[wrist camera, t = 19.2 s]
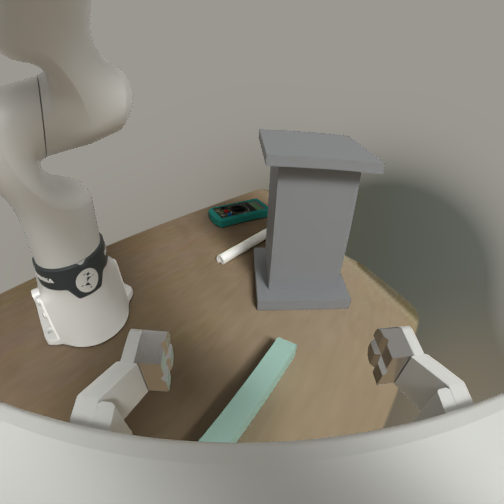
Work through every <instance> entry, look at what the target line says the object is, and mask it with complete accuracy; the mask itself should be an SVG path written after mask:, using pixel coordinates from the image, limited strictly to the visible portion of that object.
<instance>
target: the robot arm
mask: <svg viewBox="0 0 504 504" xmlns="http://www.w3.org/2000/svg"><path fill="white" fill-rule="evenodd" d="M90 8H91V0H0V53H1V54H3V55H4V56H6V57H8V58H10V59H12V60H16V61H21V62H26V63H30V64H34V65H36V66H38V67H40V68H41V69H42V70H44V71H43V72H42V73H41V74H39V75H37V76H35V77H31V78H28V79H24V80H21V81H17V82H14V83H11V84H8V85H4V86H1V87H0V195H1V196H2V197H4V199H5V200H6V201H7V202H8V203H9V204H10V206H11V207H12V209H13V210H14V212H15V213H16V215H17V217H18V219H19V222H20V224H21V226H22V229H23V231H24V234H25V236H26V239H27V241H28V244H29V247H30V249H31V252H32V255H33V258H32V261H33V265H34V270H35V273H36V280H37V284H38V287H37V288H35V289H33V290H32V291H31V293H32V296H33V299H34V301H35V302H36V306H37V310H38V314H39V317H40V321H41V325H42V328H43V332H44V335H45V339H46V341H47V343H48V344H49V345H59V344H67V345H71V346H76V347H88V346H93V345H97V344H100V343H102V342H104V341H106V340H108V339H110V338H111V337H113V336H114V335H115V334H117V333H118V332H119V331H120V330H121V328H122V327H123V326H124V324H125V323H126V321H127V318H128V315H129V301H130V299H131V298H132V296H133V290H132V287H131V286H129V285H127V284H125V283H123V280H122V277H121V274H120V271H119V268H118V265H117V262H116V260H115V259H112V258H111V257H109V256H108V255H107V249H106V245H105V242H104V240H103V237H102V235H101V234H100V233H99V230H98V226H97V221H96V217H95V212H94V207H93V202H92V197H91V194H90V192H89V190H88V188H87V187H86V186H85V185H84V184H83V183H81V182H80V181H78V180H76V179H73V178H70V177H65V176H58V175H53V174H49V173H47V172H45V171H44V170H43V169H42V168H41V166H40V162H41V160H42V159H44V158H46V157H47V156H50V155H53V154H57V153H60V152H63V151H67V150H70V149H74V148H77V147H80V146H84V145H88V144H92V143H94V142H96V141H98V140H100V139H102V138H104V137H107V136H109V135H111V134H113V133H115V132H117V131H119V130H121V129H122V128H123V126H124V125H125V123H126V121H127V119H128V117H129V115H130V112H131V108H132V99H133V97H132V90H131V86H130V83H129V81H128V79H127V77H126V76H125V74H124V73H123V72H122V71H121V70H120V69H119V68H117V67H116V66H114V65H112V64H111V63H109V62H108V61H107V60H106V59H105V58H104V57H103V56H102V55H101V54H100V53H99V51H98V50H97V48H96V46H95V44H94V42H93V39H92V36H91V31H90ZM374 337H375V339H374V340H372V341H371V342H370V344H369V347H368V359H369V362H370V364H371V365H372V366H373V367H375V368H374V370H373V375H374V378H375V381H376V384H377V385H379V384H388V383H394V384H395V385H396V386H397V387H398V388H399V389H400V390H401V391H402V392H403V393H404V394H405V395H406V396H407V397H408V398H409V399H410V400H411V401H412V402H413V403H414V404H415V405H416V406H417V408H418V409H420V412H419V413H418V414H417V415H416V416H415V417H414V419H413V422H411V423H407V424H403V425H399V426H394V427H389V428H384V429H379V430H374V431H368V432H362V433H356V434H350V435H343V436H335V437H327V438H318V439H308V440H296V441H281V442H255V443H224V442H198V441H182V440H171V439H161V438H152V437H144V436H136V435H132V431H131V430H130V428H129V427H128V426H127V424H126V422H125V421H124V419H125V418H126V417H127V416H128V414H129V413H130V412H131V411H132V410H133V409H134V407H135V406H136V405H137V404H138V403H139V402H140V400H141V399H142V398H143V397H144V396H145V394H146V393H147V392H148V390H155V391H169V388H170V381H171V375H170V370H171V369H172V368H173V357H174V354H173V346H172V345H171V344H170V339H171V337H170V333H169V332H165V331H153V330H140V329H131V330H130V331H129V333H128V337H127V340H126V343H125V346H124V350H123V353H122V357H121V360H120V362H119V361H116V362H115V363H114V364H113V365H112V366H111V367H110V368H108V369H107V370H106V371H105V372H104V373H103V374H101V375H100V376H99V377H98V378H97V379H96V380H95V381H93V382H92V383H91V384H90V385H89V386H88V387H86V388H85V389H84V390H83V391H82V392H81V393H80V394H78V395H77V398H76V402H75V405H74V408H73V411H72V415H71V418H70V422H65V421H61V420H57V419H53V418H50V417H46V416H43V415H39V414H36V413H33V412H29V411H26V410H23V409H20V408H17V407H14V406H12V405H9V404H6V403H3V402H0V504H504V393H502V394H499V395H497V396H494V397H492V398H489V399H486V400H484V401H481V402H478V403H475V404H474V403H473V401H472V399H471V396H470V394H469V392H468V390H467V387H466V385H465V383H464V382H463V381H462V380H461V379H459V378H458V377H457V376H455V375H454V374H453V373H451V372H450V371H449V370H447V369H446V368H445V367H444V366H442V365H441V364H440V363H438V362H437V361H436V360H434V359H433V358H432V357H430V356H429V355H428V354H424V353H423V350H422V348H421V346H420V344H419V342H418V340H417V338H416V336H415V334H414V332H413V330H412V328H411V327H410V326H403V327H391V328H380V329H377V330H376V331H375V333H374Z"/></svg>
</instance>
